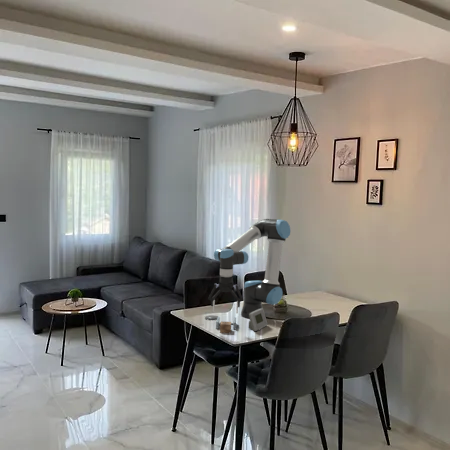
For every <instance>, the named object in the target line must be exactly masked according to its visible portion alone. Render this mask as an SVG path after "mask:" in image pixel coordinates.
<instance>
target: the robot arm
mask: <svg viewBox="0 0 450 450" xmlns="http://www.w3.org/2000/svg"><path fill="white" fill-rule="evenodd" d="M290 235H291V226H290V224H289V222H288V221H287V220H284V219H275V218H264V219H261V220H259V221H257V222H255V223H254V224H252V225H251V226H250V227H249V228H248V230H247V231H245V232H244V233H243V234H241V235H240V236H238V237H237V238H235V239H234V240H233V241H231V242H230V243H229V244H227V245H226V246H224V247H223V248H217V249H215V251H214V252H213V257H214V259H215V260H216V261H217V262H219V264H220V265H219V283H218V284H217V283H214V285H213V288H212V289H211V292H210V294H209V296H208V297H207V300H209V301H210V307H212V313H215V305H216V304H215V302H216V300H215V299H216V298H217V297H218V295H219V294H221V292H222V293H230V294H231V295H232V297H234V299H235V300H236V306H235V307H236V308H235V309H236V310H235V313H236V314H238V312H239V310H238V309H239V308H240V307H241V302H243V305H242V308H241V312H240V316H241V317H243V318H247V319H250V318H249V314H250V313H252V312H253V311H255V310H258V309H261V308H262V309H263V310H264V308H263V303H264V304H268V305H272V306H273V305H277V304H279V303H280V302H281V300H282V297H283V293H284V292H283V288H282V287H281V283H280V282H279V275H280V267H281V259H282V258H281V257H282V252H283V244H284V243H286V239H288V238H289V237H290ZM263 237H264V238H265V237H267V241H268V243H269V244H268V248H267V257H266V266H265V272H264V279H263V280H248V281H245V282H244V286H243V288H244V289H243V296H242V294H241V291H240V288H239V285H238V284H234V283H233V281H234V279H233V278H234V266H235V265H243V264H246V263H248V261H249V254H248V253H247V251H243V250H244V249H245V248H246V247H247V246H249V245H250V244H252V243H253V242H254V241H255V240H259V239H260V238H263ZM217 288H219V290H217V292H216V293H215V294H214V292H215V291H216V289H217ZM233 288H234V289H235V290H236V292H237V294H238V295H237V294H236V293H235V291H234V290H233ZM213 294H214V295H213Z"/></svg>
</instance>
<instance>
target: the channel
mask: <svg viewBox="0 0 450 450" xmlns="http://www.w3.org/2000/svg"><path fill="white" fill-rule="evenodd" d="M215 321H216V322H215V329H216V330H218V329H219V328H220V324H221V322H220V316H218V317H217V320H215ZM232 325H233V329H232V330H236V325H237V317H235V316H234V318H233V322H231V326H232Z"/></svg>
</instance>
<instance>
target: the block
mask: <svg viewBox="0 0 450 450" xmlns="http://www.w3.org/2000/svg"><path fill="white" fill-rule="evenodd" d="M220 323H221V324H220ZM220 323H219V329H220V330H219V333H220V334H223V333H224V334H231V331H232V325H231V323H232V321H220Z"/></svg>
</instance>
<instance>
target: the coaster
mask: <svg viewBox="0 0 450 450" xmlns="http://www.w3.org/2000/svg"><path fill="white" fill-rule="evenodd" d="M217 317H219V316H218V315H206V316H204V319H205V320H209V321H217Z"/></svg>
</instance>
